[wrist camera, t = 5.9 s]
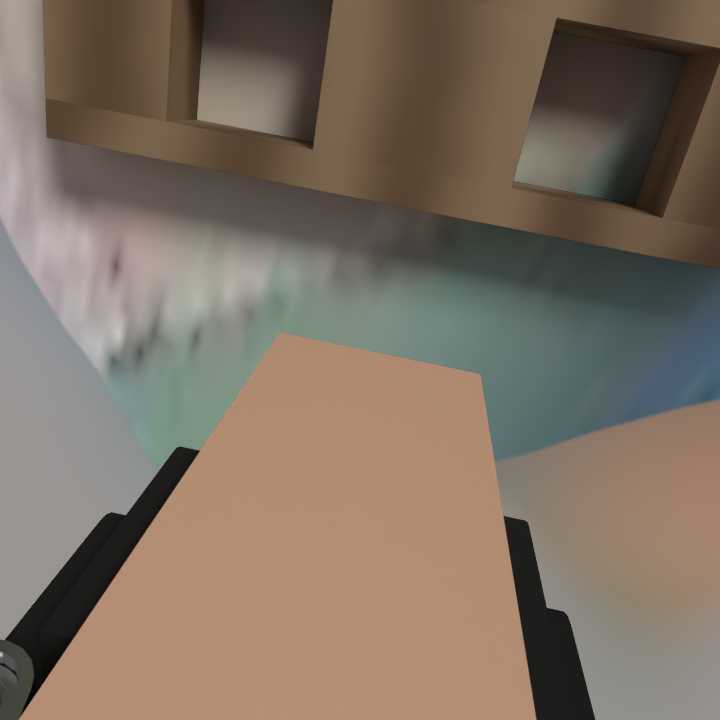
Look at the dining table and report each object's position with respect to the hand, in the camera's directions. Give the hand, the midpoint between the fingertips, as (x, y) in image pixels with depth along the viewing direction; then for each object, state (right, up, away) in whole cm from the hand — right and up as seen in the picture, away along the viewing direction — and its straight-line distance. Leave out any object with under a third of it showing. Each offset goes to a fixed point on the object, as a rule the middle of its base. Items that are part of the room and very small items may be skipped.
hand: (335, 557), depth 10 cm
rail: (+3, +15, +16) cm, 22 cm away
